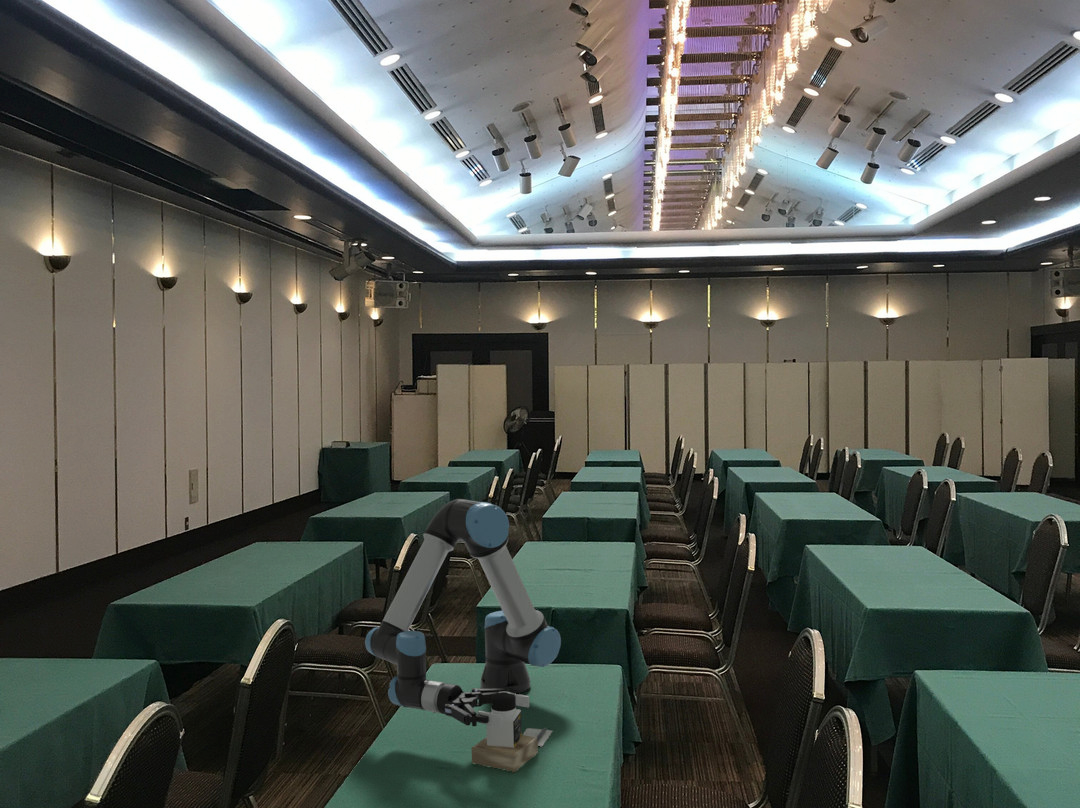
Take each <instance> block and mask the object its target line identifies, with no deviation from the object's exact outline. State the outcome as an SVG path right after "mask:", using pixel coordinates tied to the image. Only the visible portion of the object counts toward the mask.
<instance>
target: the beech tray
mask: <svg viewBox="0 0 1080 808" xmlns="http://www.w3.org/2000/svg"><path fill="white" fill-rule="evenodd" d="M538 750H539V747H538V743H537V738H536V737H530V736H525V735H523V734H522V737H521V738H520V740H519V741H518V743H517V745H516V746H515V748H506V747H494V746H487V736H486V737H484V738H483V739H482V740H480V741H479V742H478V743H476V744H475V745H473V746H471V764H472V763H475V764H474V765H476V764H480V765H485V766H490V767H494V768H500V769H505V770H508V771H512V772H511V773H513V772H515V771H516V770H517V769H518V770H520V769H521V768H522V767H523V766H524V765H523V764H525V763H526V762H527V761H528V760H529V761H530V759H531V758H532V757H533V758H534V757H536V756H537V755H538V754H539V753H538ZM537 753H538V754H537ZM536 754H537V755H536ZM533 758H532V759H533ZM532 759H531V760H532ZM529 761H528V762H529ZM528 762H527V763H528ZM527 763H526V764H527ZM526 764H525V765H526ZM480 765H479V766H480ZM522 765H523V766H522ZM485 766H484V767H485ZM521 766H522V767H521ZM490 767H489V768H490ZM520 767H521V768H520ZM494 768H493V769H494ZM519 768H520V769H519ZM518 770H517V771H518ZM508 771H507V772H508ZM517 771H516V772H517ZM516 772H515V773H516Z"/></svg>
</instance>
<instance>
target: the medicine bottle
mask: <svg viewBox="0 0 1080 808" xmlns="http://www.w3.org/2000/svg"><path fill="white" fill-rule="evenodd" d="M490 704H491V705H490V707H491V712H490V713H495V714H501V715H502V722H503V726H502V727H499V726H493V725H488V724H485V726H486V737H487V746H494V747H506V748H515V746H516V745H517V743H518V741H519V740H520V738H521V737H522V735H523V733H522V709H520V708H519V709H517V706H516V696H515V695H514V694H513V693H511V692H506V691H503V692H497V693H495V694H493V695H492V697H491V703H490Z"/></svg>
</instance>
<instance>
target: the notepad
mask: <svg viewBox="0 0 1080 808" xmlns="http://www.w3.org/2000/svg"><path fill="white" fill-rule="evenodd" d="M553 731H554V730H549V729H547V727H545V726H544V727H543V728H542V729H541V728H529V727H527V728H526V729H525V731H524V732H523V733H522V735H525V736H530V737H536V738H537V743H538V746H540V747H539V748H543V747H544V746H545V744H546V743H547V741H548V740H547V739H549V738H550V737H551V735H552V734H553ZM551 733H552V734H551ZM549 736H550V737H549ZM546 740H547V741H546ZM545 742H546V743H545ZM544 743H545V744H544ZM543 745H544V746H543ZM542 746H543V747H542Z"/></svg>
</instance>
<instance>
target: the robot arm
mask: <svg viewBox="0 0 1080 808" xmlns="http://www.w3.org/2000/svg"><path fill="white" fill-rule="evenodd" d="M509 528H510V522H509V518H508V515H507V514H506V512H505V510H503V508H501V507H500V506H498V505H495V504H492V503H490V502H487V501H475V500H470V499H465V498H456V499H453V500H450V501H449V502H447V503H446V504H444V505H443V506H442V507H440V509H439V510H438V511H437V512H436V513H435V515H434V516H433V517H432V518H431V520H430V522H429V523H428V524H427V527H426V529H425V530H424V532H423V534H422V536H423V539H424V540H423V541H422V543H421V546H420V548H419V550H418V551H417V554H416V556H415V557H414V560H413V561H412V563H411V565H410V567H409V569H408V571H407V573H406V575H405V577H404V579H403V580H402V583H401V584H400V587H399V588H398V590H397V592H396V594H395V596H394V598H393V600H392V601H391V603H390V605H389V608H388V610H387V612H386V614H385V615H384V618H383V619H382V621H381V623H380V625H379V627H372V629H371V630H369V631H368V633H367V634H366V636H365V640H364V645H365V648H366V650H367V652H368V653H370V654H371V655H373V656H375V658H377V659H381V660H384V661H386V662H389V663H391V664H393V665H396V671H397V672H396V674H397V675H396V676H394V677H393V678H392V679H391V680H390V682H389V687H388V690H387V691H388V692H387V695H388V699H389V701H390V702H391V703H392V704H393V705H396V706H400V707H403V708H409V709H416V710H422V711H427V712H431V713H433V714H437V713H438V714H442V715H445V716H448V717H452V718H453V719H455V720H456V721H459V722H460V723H462V724H463V725H464V726H468V727H469V726H470V725H471V727H477V725H478V724H484V725H486V724H488V725H493V726H499V727H502V726H503V722H502V715H501V714H495V713H491V712H489V711H482V710H478V711H476V710H475V709H474V708H476V707H477V708H478V707H482V706H483V705H488V704H489V705H490V704H491V697H492V695H493V694H495V693H497V692H503V691H506V692H511V693H513V694H514V695H515V696H516V707H522V708H523V707H524V708H530V695H524V694H521V693H520V692H522V693H525V692H526V690H527V689H528V690H529V689H530V688H531V677H530V675H529V673H528V668H527V666H526V664H529V665H531V666H533V667H539V668H543V667H547V666H549V665H551V663H552V662H554V661H555V659H556V658H557V657H558V654H559V652H560V649H561V645H562V639H561V635H560V632H559V631H558V629H556V628H555V627H553V626H549V625H548V623H547V620H546V618H545V616H544V614H543V613H542V611H539V610H538V609H537V610H536V609H535V607H534V605H533V602H532V600H531V598H530V596H529V592H528V591H527V589H526V587H525V585H524V582H523V580H522V578H521V576H520V574H519V572H518V570H517V567H516V565H515V562H514V560H513V559H512V556H511V554H510V552H509V550H508V546H507V544H508V542H509V532H510V531H509ZM459 542H462V543H464V545H465V547H466V549H467V551H468V553H469V556H470V557H472V558H473V559H477V560H478V561H479V563H480V565H481V568H482V570H483V571H484V574H485V577H486V578H487V581H488V583H489V585H490V586H491V589H492V591H493V593H494V595H495V597H496V600H497V602H498V604H499V606H500V609H501V610H498V611H494V612H490V613H489V614H487V615H486V616H485V619H484V627H483V628H484V643H485V644H484V645H485V646H484V647H485V648H484V649H485V664H484V668H483V671H482V675H481V678H480V688H477V687H476V688H475V687H474V688H471V691H466V692H465V691H463V689H462V687H461V686H460V685H458V684H452V683H446V682H443V681H435V680H429V679H427V645H426V637H425V634H424V632H422V631H419V630H409V629H410V627H411V626H412V623H413V622H414V620H415V618H416V616H417V614H418V612H419V610H420V608H421V606H422V604H423V601H424V600H425V598H426V596H427V594H428V592H429V590H430V589H431V587H432V584H433V582H434V580H435V579H436V577H437V575H438V573H439V570H440V569H441V566H442V565H443V563H444V561H445V559H446V557H447V555H448V553H449V552H452V551H454V549H455V547H456V545H457V544H458V543H459ZM525 663H526V664H525ZM528 690H527V691H528ZM524 691H525V692H524ZM515 693H519V694H515Z"/></svg>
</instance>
